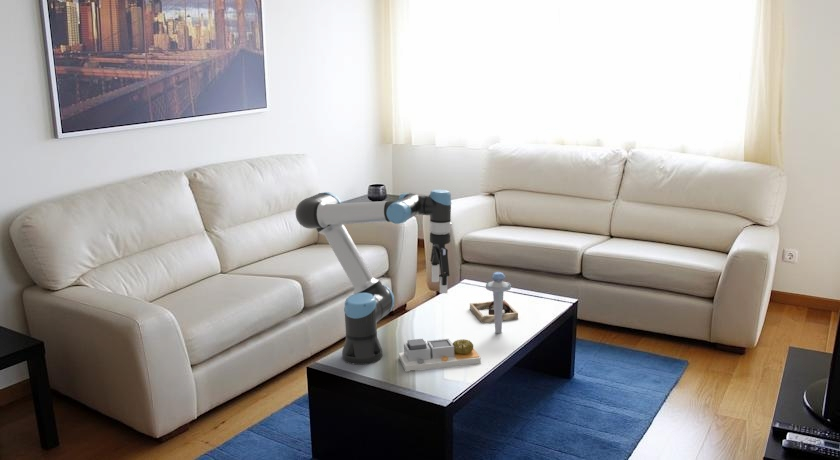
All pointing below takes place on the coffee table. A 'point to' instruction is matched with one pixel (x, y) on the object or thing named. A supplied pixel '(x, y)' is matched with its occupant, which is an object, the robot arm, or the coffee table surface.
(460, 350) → the sculpture
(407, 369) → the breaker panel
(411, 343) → the block
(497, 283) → the novelty light stick
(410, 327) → the coffee table surface
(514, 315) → the mug frame
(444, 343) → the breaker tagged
